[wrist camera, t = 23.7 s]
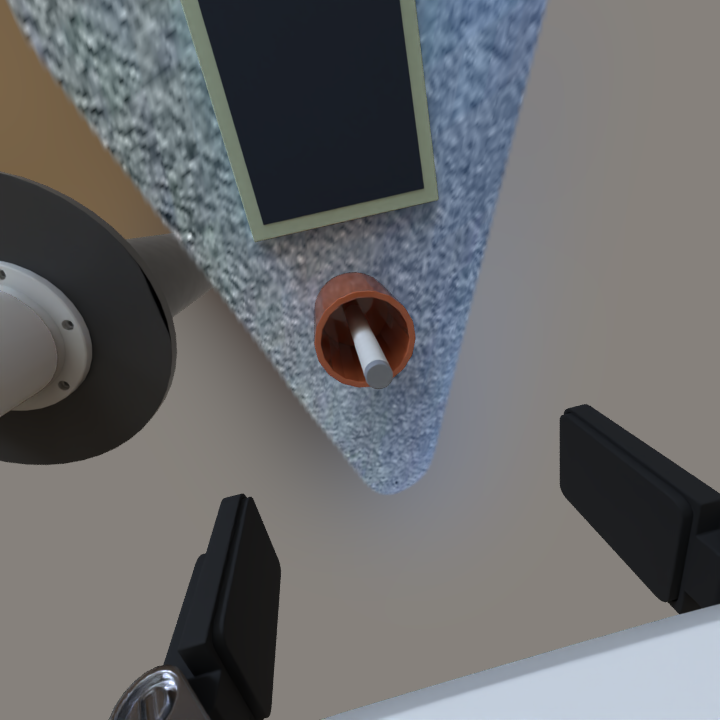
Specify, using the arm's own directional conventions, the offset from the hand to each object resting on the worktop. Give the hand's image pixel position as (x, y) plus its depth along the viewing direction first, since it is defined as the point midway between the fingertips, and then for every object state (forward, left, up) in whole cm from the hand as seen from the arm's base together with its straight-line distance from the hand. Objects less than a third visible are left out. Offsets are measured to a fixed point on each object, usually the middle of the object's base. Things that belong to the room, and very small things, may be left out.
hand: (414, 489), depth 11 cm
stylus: (0, 0, -21) cm, 21 cm away
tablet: (+1, +16, -22) cm, 27 cm away
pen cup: (0, 0, -22) cm, 22 cm away
